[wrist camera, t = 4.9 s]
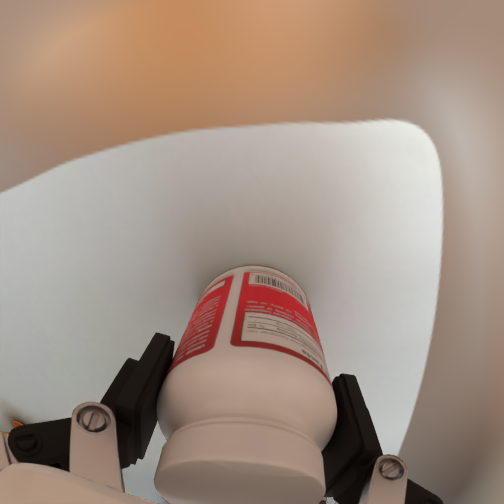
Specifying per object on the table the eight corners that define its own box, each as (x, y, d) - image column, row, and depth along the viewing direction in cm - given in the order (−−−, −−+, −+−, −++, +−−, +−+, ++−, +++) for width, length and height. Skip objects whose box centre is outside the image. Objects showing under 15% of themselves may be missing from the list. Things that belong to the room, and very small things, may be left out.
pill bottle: (213, 363, 18) (174, 526, 7) (186, 272, 16) (84, 431, 5) (315, 350, 17) (348, 521, 6) (303, 253, 15) (363, 423, 5)
